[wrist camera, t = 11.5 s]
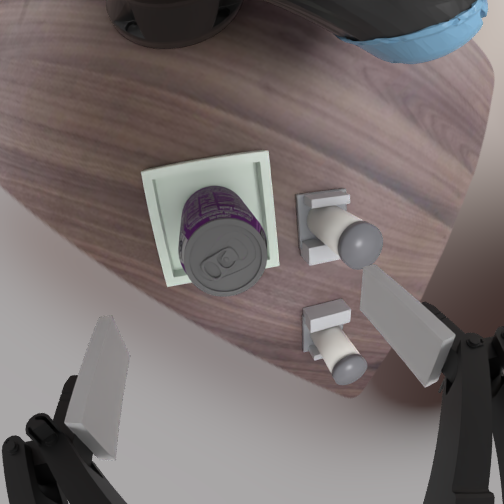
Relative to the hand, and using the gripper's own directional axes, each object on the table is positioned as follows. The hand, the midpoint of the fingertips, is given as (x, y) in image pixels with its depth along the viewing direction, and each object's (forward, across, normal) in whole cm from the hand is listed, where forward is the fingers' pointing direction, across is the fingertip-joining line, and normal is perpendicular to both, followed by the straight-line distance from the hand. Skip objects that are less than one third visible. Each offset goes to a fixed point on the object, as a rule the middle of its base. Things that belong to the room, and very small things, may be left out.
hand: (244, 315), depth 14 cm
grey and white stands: (+20, +13, -12) cm, 27 cm away
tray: (+20, 0, -1) cm, 20 cm away
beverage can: (+20, 0, -1) cm, 20 cm away
